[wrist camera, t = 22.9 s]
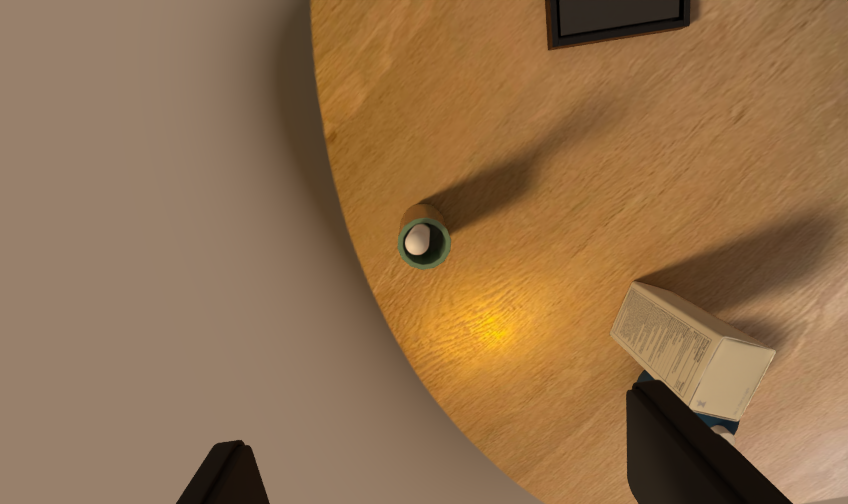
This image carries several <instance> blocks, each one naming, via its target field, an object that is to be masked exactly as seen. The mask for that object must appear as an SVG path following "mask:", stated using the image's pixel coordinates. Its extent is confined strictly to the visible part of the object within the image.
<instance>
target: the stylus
mask: <svg viewBox="0 0 848 504" xmlns="http://www.w3.org/2000/svg"><path fill="white" fill-rule="evenodd" d="M429 237H430V224H428V223H421V224H416V225H415V226H414V227H413V228H412V230H411V231H410V233H409V234H408V236H407V237H406V240H405V246H406V249H407V250H408V251H409V252H410V253H411V254H414V255H420V254H423V253H424V252H426V250H427V249H428V247H429Z"/></svg>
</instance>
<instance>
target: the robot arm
mask: <svg viewBox="0 0 848 504" xmlns="http://www.w3.org/2000/svg"><path fill="white" fill-rule="evenodd" d="M626 411H627V479H628V483H629V487H630V489H631V492H632V494H633V495H634V497H635V499H636V500H637V502H638V504H793V503H792V502H791V501H790V500H789V499H788V498H787V497H785V496H784V495H783V494H782V493H781V492H780V491H779V490H778V489H777V488H776V487H775V486H774V485H773V484H772V483H771V482H770V481H769V480H768V479H767V478H766V477H765V476H764V475H763V474H762V473H761V472H759V471H758V470H757V469H756V468H755V467H754V466H753V465H752V464H751V463H750V462H749V461H748V460H747V459H746V458H745V457H744V456H743V455H742V454H741V453H740V452H739V451H738V450H737V449H736V448H735V447H733V446H732V445H731V444H730V443H729V442H728V441H727V440H726V439H725V438H724V437H722V436H721V435H719V434H717V433H715V432H714V431H713V430H712V429H711V428H710V427H709V426H708V425H707V424H706V423H705V422H704V421H703V420H702V419H701V418H700V417H699V416H698V415H696V414H695V413H694V412H693V411H692V410H691V409H690V408H689V407H688V406H687V405H686V404H685V403H684V402H683V401H682V400H681V399H680V398H679V397H678V396H677V395H676V394H675V393H674V392H673V391H672V390H671V389H670V388H669V387H668V386H667V385H666V384H665V383H664V382H662V381H661V380H658V379H657V380H650V381H643V382H636V383H634V384H633V386H632V390H628V391H627V394H626ZM176 504H270V503H269V500H268V497H267V494H266V491H265V488H264V485H263V482H262V479H261V476H260V473H259V470H258V466H257V464H256V460H255V457H254V454H253V451H252V449H251V447H250V446H249V445H245V444H244V442H243V441H242V440H236V441H229V442H222V443H217V444H215V445H214V446H213V448H212V449H211V451H210V452H209V454H208V455H207V457H206V458H205V460H204V461H203V463H202V464H201V466H200V467H199V469H198V471H197V472H196V474H195V475H194V477H193V478H192V480H191V481H190V483H189V484H188V486H187V487H186V489H185V490H184V492H183V494H182V495H181V497H180V498H179V500H178V501H177V503H176Z"/></svg>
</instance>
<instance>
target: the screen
mask: <svg viewBox="0 0 848 504" xmlns="http://www.w3.org/2000/svg"><path fill="white" fill-rule="evenodd" d="M677 17H679V0H559V19H560V36H565V35H571V34H577V33H583V32H590V31H596V30H602V29H609V28H615V27H621V26H627V25H634V24H640V23H646V22H652V21H659V20H665V19H671V18H677Z"/></svg>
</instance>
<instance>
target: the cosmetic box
mask: <svg viewBox="0 0 848 504" xmlns="http://www.w3.org/2000/svg"><path fill="white" fill-rule="evenodd" d="M610 336H611V337H612V338H613V339H614V340H615V341H616V342H617V343H618V344H619V345H620V346H621V347H623V348H624V349H625V350H626V351H627V352H628V353H629V354H630V355H631V356H632V357H633V358H634V359H635V360H636V361H637V362H638V363H639V364H640V365H641V366H642V367H643V368H644V369H645V370H646V371H647V372H648V373H649V374H650V375H651V376H652V377H653V378H654V379H655V380H657V379H658V380H661V381H662V382H664V383H665V384H666V385H667V386H668V387H669V388H670V389H671V390H672V391H673V392H674V393H675V394H676V395H677V396H678V397H679V398H680V399H681V400H682V401H683V402H684V403H685V404H686V405H687V406H688V407H689V408H690V409H691V410H692V411H693V412H697V413H701V414H705V415H709V416H713V417H717V418H722V419H726V420H731V421H739V419H740V418H741V416H742V414H743V413H744V411H745V409H746V407H747V406H748V404H749V402H750V400H751V398H752V397H753V395H754V393H755V391H756V389H757V387H758V385H759V384H760V382H761V380H762V378H763V376H764V374H765V372H766V371H767V368H768V367H769V365H770V363H771V361H772V359H773V357H774V355H775V353H776V351H775V350H774V349H772V348H770V347H769V346H767V345H765V344H763V343H762V342H760V341H758V340H756V339H754V338H753V337H751V336H749V335H747V334H746V333H744V332H742V331H740V330H739V329H737V328H735V327H733V326H731V325H730V324H728V323H726V322H724V321H722V320H721V319H719V318H717V317H715V316H714V315H712V314H710V313H708V312H707V311H705V310H703V309H701V308H700V307H698V306H696V305H694V304H692V303H691V302H689V301H687V300H685V299H684V298H682V297H680V296H678V295H677V294H675V293H673V292H671V291H669V290H665V289H662V288H659V287H655V286H652V285H648V284H645V283H641V282H637V281H633V282H632V283H631V286H630V288H629V290H628V292H627V294H626V296H625V299H624V301H623V303H622V305H621V308H620V310H619V312H618V314H617V317H616V319H615V321H614V324H613V326H612V329H611V331H610Z"/></svg>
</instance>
